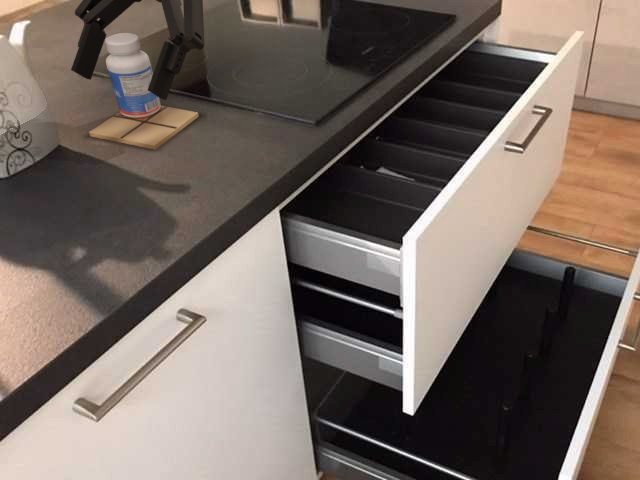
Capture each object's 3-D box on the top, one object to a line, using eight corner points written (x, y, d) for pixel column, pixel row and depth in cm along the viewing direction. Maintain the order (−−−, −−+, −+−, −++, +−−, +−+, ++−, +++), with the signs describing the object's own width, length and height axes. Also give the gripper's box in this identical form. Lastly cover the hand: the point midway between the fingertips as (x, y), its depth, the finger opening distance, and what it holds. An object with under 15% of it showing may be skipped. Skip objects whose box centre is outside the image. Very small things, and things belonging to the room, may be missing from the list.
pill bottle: (120, 104, 91) (99, 32, 84) (160, 99, 92) (143, 28, 86) (120, 121, 87) (98, 47, 81) (162, 116, 88) (144, 43, 82)
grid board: (91, 140, 86) (88, 131, 85) (138, 108, 93) (136, 100, 92) (156, 154, 83) (153, 144, 82) (199, 120, 90) (197, 111, 89)
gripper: (265, -40, 85) (210, 116, 84) (121, -64, 93) (71, 78, 93) (233, -79, 77) (173, 92, 77) (81, -101, 86) (26, 53, 85)
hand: (117, 85), depth 85 cm, fingers open, 12 cm apart
